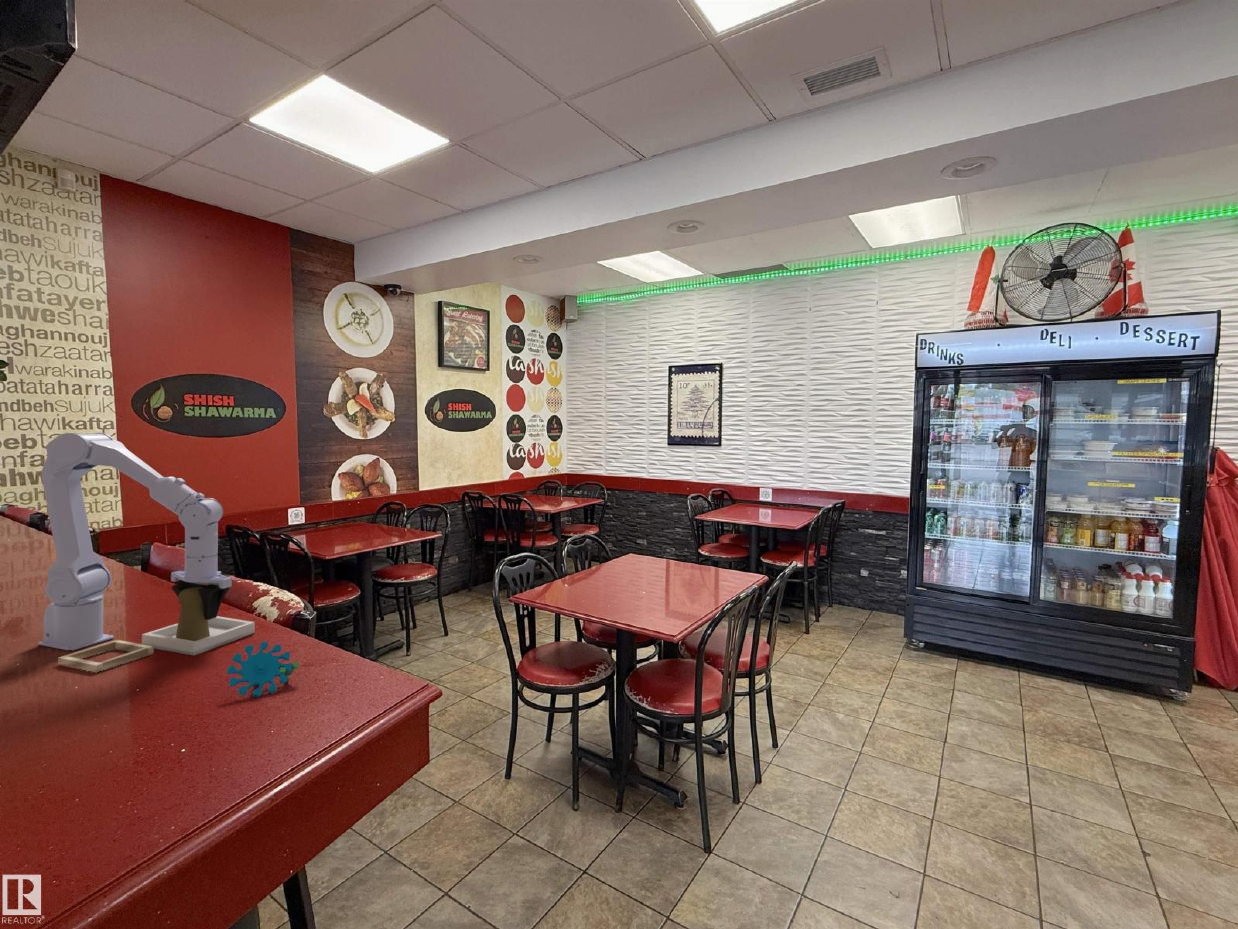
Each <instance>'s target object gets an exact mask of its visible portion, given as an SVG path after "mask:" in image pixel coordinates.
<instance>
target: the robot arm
mask: <svg viewBox="0 0 1238 929" xmlns="http://www.w3.org/2000/svg"><path fill="white" fill-rule="evenodd" d="M45 449H46V454H47V456H46V459H45V461H44V464H43V466H42V469H41V481H42V487H43V492H44V498H45V503H46V509H47V513H48V518H49V523H50V528H51V534H52V540H53V544H54V550H55V555H56V559H55V560H54V561H53V563H52V564H51V566H49V569H48V570H47V577H48V578H47V579H48V580H47V583H46V585H45V589H44V590H45V594H46V597H47V598H48V599H49V600H50V601H51V602H50V603H49V604H48V606H47V607H46V608H45V611H44V613H43V641H39V642H38V645H39V646H43V647H48V648H54V649H60V650H63V651H68V650H72V651H75V650H78V649H82V648H85V647H89V646H92V645H95V644H98V643H103V642H105V641H108V640H112V639H114V638H115V636H114V635H112V634H105V633H104V595H105V590H107V589H108V587H110V586H111V584H112V583H111V582H112V574H111V572H110V570H109V569H108V568H107V567H106V565H105V563H104V559H103V557H102V556H101V555H99V554H97V553H96V552H95V551H94V548H93V543H92V538H91V532H90V528H89V522H88V517H87V511H86V506H85V500H84V494H83V490H82V483H81V479H82V477H84V476H85V475H87V474H88V473H89V471H91V470H93V468H95V467H97V466H101V467H102V466H104V467H112V468H114V469H115V470H117V471H119V472H121V473H123V475H126V477H129V478H131V479H132V480H134V481H136V482H138V483H139V484H141V485H143V487H146V488H148V490H149V497H150V498H151V499H153V500H154V501H156V502H157V503H159V504H160V505H162V506H163V507H164V508H166V509H167V510H169V511H171V512H172V513H174V514H175V515H177V516H178V520H179V522H180V523H181V525H182V526H183V527H184V570H178V571H173V572H170V573H171V574H170V581H171V582H173V583H174V582H178V583H177V584H174V585H172V586H171V590H172V591H173V592H174V594H176V596H177V597H178V596H179V593H180V592H181V591H183V590H185V589H188V588H195V587H200V588H202V589H198V592H199V593H200V595H201V598H202V601H203V605H204V616H205V620H210V619H213V618H216V617H217V616H218V613H219V610H220V607H221V604H222V602H223V599H224V598H225V596H226V594H227V592H228V591H229V590H230V587H232V584H233V582H232V581H233V580H232V577H229V576H226V575H223V574H222V571H220V570H218V567H219V566H218V564H219V563H218V561H219V560H218V559H219V558H218V557H219V556H218V554H219V552H218V550H219V549H218V548H219V547H218V546H219V521H220V520H221V519H222V517H223V515H224V509H223V506H222V504H221V503H220V502H218V500H217V499H216V498H211V497H205V494H203V493H201V492H199V493H198V492H197V491H195V490H194V489H193V488H191V487H190V486H188V485H187V484H185V483H186V480H185V479H183V478H182V477H178V478H176V477H175V476H166V477H165V476H163V475H162V474H161V473H159V472H158V471H156V470H155V469H154V468H152V467H151V466H150V465H149V464H147V463H146V462H145V461H144V460H142V459H141V458H139V457H138V456H137V455H135V454H134V453H133V452H131V451H130V450H128V448H126V446H125V445H124V443H123V442H121V441H120V440H119V441H118V440H117V439H116V440H115V439H114V438H113V437H112V436H111V435H110V434H107V433H105V432H94V433H74V432H66V433H61V434H59V435H57V436H56V437H55V438H53V439H52V440H51V441H49V443H47V444H46V445H45ZM203 585H204V586H205V587H203Z"/></svg>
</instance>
